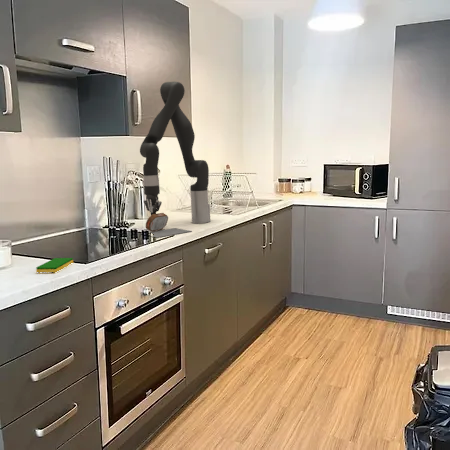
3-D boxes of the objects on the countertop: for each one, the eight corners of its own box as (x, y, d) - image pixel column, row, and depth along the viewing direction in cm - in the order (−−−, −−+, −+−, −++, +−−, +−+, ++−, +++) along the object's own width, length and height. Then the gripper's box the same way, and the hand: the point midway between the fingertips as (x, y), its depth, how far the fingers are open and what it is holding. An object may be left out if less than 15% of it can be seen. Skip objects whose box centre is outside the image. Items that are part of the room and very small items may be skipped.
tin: (161, 226, 238) (165, 211, 235) (166, 229, 236) (170, 213, 234) (143, 230, 225) (147, 214, 222) (148, 233, 223) (152, 216, 221)
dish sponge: (36, 274, 157) (35, 267, 157) (55, 264, 171) (54, 257, 170) (56, 274, 156) (55, 267, 156) (73, 264, 170) (73, 257, 170)
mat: (174, 228, 235) (174, 227, 235) (191, 231, 225) (191, 230, 225) (140, 234, 222) (140, 233, 222) (156, 238, 212) (156, 237, 212)
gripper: (165, 184, 225) (167, 220, 228) (150, 183, 235) (152, 217, 238) (152, 185, 220) (154, 222, 223) (137, 184, 230) (139, 219, 233)
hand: (153, 219), depth 230 cm, fingers closed
